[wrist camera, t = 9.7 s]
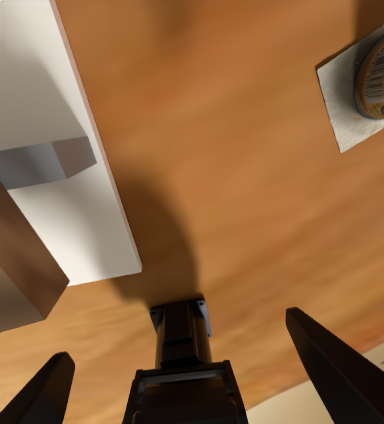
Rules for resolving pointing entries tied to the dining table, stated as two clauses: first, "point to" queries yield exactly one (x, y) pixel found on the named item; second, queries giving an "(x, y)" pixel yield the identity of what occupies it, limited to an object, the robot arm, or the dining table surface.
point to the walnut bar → (25, 270)
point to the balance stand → (57, 148)
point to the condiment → (355, 90)
